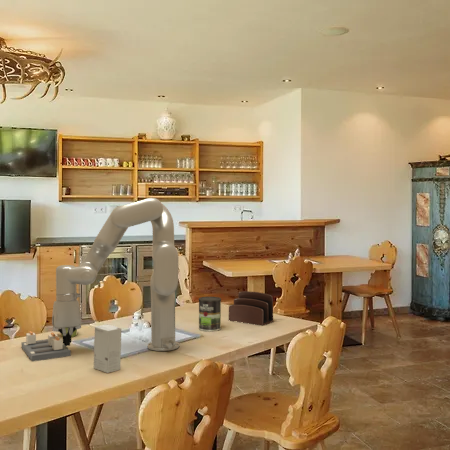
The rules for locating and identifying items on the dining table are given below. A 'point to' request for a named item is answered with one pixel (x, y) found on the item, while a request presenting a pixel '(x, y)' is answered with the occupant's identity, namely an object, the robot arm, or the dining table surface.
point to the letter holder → (252, 308)
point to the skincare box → (107, 348)
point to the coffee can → (209, 313)
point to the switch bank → (44, 350)
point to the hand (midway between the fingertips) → (67, 344)
